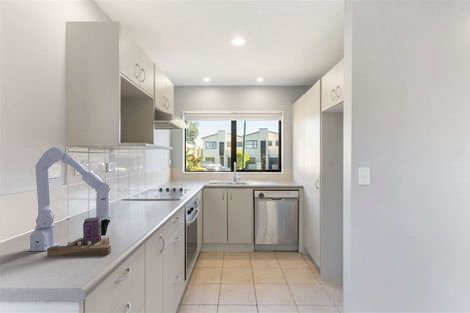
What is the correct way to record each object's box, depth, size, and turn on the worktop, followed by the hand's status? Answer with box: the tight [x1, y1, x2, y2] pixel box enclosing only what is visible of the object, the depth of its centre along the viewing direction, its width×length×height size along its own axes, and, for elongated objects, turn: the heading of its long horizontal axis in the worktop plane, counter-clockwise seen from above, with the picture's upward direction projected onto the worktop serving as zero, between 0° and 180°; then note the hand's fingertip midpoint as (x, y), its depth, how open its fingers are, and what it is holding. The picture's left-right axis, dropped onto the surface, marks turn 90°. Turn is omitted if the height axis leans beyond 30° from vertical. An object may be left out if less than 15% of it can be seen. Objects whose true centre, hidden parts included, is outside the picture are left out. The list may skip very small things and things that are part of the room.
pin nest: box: [46, 237, 112, 257], centre depth 124 cm, size 14×24×5 cm, turn 91°
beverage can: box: [82, 217, 102, 246], centre depth 129 cm, size 7×7×12 cm
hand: (103, 235), depth 140 cm, fingers closed
